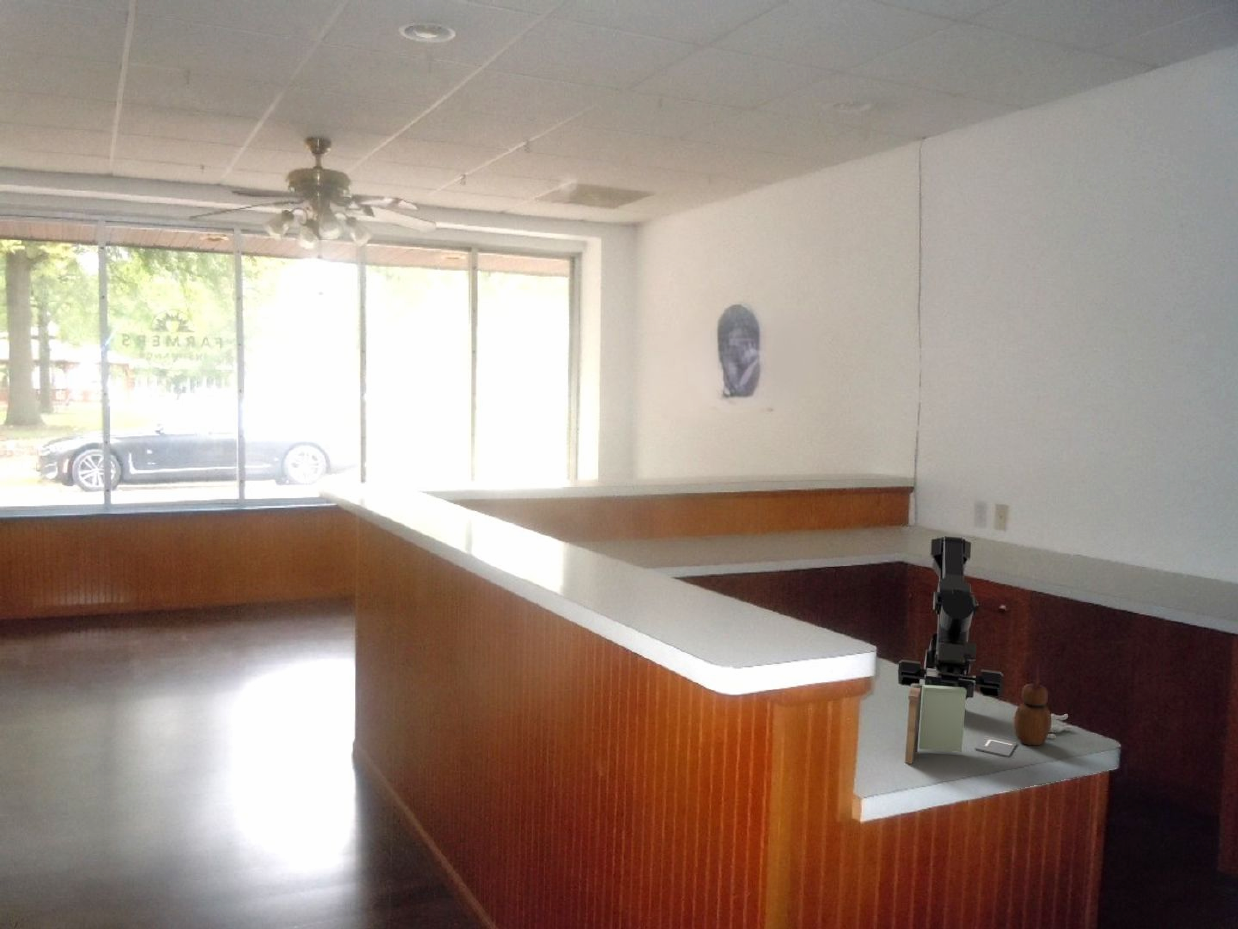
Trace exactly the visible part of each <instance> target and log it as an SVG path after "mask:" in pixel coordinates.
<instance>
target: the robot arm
mask: <svg viewBox="0 0 1238 929" xmlns="http://www.w3.org/2000/svg"><path fill="white" fill-rule="evenodd" d="M929 545H930V546H929V558H930V559H931V558H932V566H931V567H932V569H933V571H934V573H935V574H936V575H937V577H938V579H939V580H938V583H937V584H938V585H937V591H933V602H932V606H933V607H932V609H933V610H934V611H936V615H937V631H936V632H934V633H933V635H932V637H931V639H930V642H929V643H930V644H929V649H926V650H925V657H924V665H923V668H921V661H919V660H918V661H916V660H908V659H901V660H899V662H898V669H897V678H898V680H897V681H898V683H897V684H899V685H901V686H906V687H911V684H913V683H916V684H920V685H921V683H920V681H921V680H923V681H924V685H934V686H950V687H964V688H965V689H966V690H967V692H966V700H967V699H968V698H969V699H972V698H974V694H975V693H974V692H975V689H976V688H975V687H979V689H978V690H979V693H980V694H981V695H982V696H983V697H990V698H997V699H999V698H1002V694H1003V686H1004V674H1003V673H1002V672H1001V671H998V670H997V671H996V670H990V669H983V668H981V670H980V675H972V674H971V669H972V662H975V661H976V657H977V656H976V654H977V643H976V642H970V641H969V630H970V627H971V624H972V618H973V615H975V614H976V612H979V603H978V601H977V599H976V597H975V595H974V594H972V588H971V587H972V586H971V584H970V583H969V582H968V581H967V580H965V574H964V572H965V571H966V568H967V567H966V566H967V565H966V564H967V562H969V561H970V560H971V558H972V557H971V555H972V554H971V552H972V542H970V541H968V540H966V539H965V538H963V537H961V536H947V535H945V536H941V537H936V538H934V539H931V541H930V544H929Z"/></svg>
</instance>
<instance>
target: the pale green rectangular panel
mask: <svg viewBox="0 0 1238 929" xmlns="http://www.w3.org/2000/svg"><path fill="white" fill-rule="evenodd" d="M966 692H967V690H966V689H965V688H964V687H950V686H934V685H925V684H922V696H921V710H920V723H919V737H918V749H919V750H927V751H928V750H929V751H944V752H955V753H956V752H957V753H958V752H959V753H962V749H963V738H964V723H965V712H966V711H965V710H966V702H967V701H966V700H967V699H966Z"/></svg>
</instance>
